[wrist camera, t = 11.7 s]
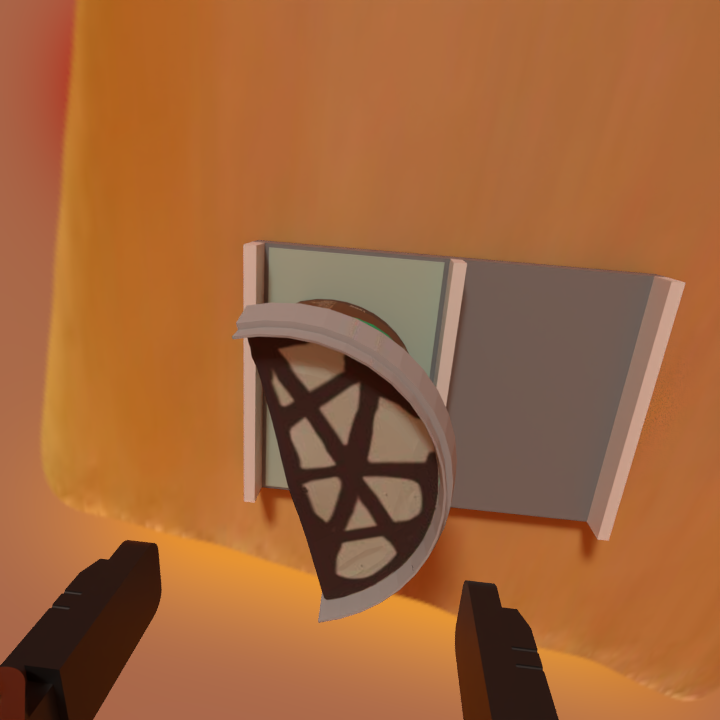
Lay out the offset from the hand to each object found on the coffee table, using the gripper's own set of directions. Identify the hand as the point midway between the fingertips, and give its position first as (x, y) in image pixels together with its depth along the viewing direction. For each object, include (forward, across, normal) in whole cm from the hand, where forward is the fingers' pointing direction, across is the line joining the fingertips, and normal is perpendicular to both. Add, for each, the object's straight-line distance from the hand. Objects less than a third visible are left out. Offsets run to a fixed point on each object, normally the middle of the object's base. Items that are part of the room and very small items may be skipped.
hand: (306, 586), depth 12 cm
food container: (+14, -1, -1) cm, 14 cm away
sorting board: (+15, -4, 0) cm, 16 cm away
